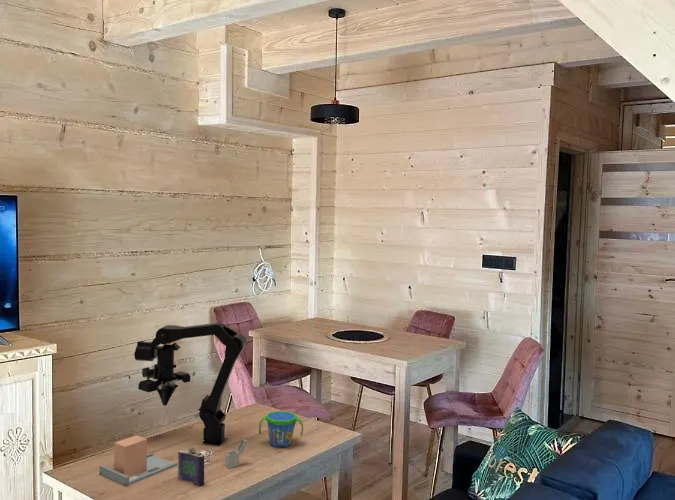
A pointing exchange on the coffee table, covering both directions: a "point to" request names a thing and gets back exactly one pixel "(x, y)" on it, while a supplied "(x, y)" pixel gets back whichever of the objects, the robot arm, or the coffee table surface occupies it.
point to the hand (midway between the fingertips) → (164, 405)
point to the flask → (191, 466)
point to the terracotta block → (131, 456)
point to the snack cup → (281, 427)
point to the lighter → (235, 455)
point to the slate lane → (153, 467)
